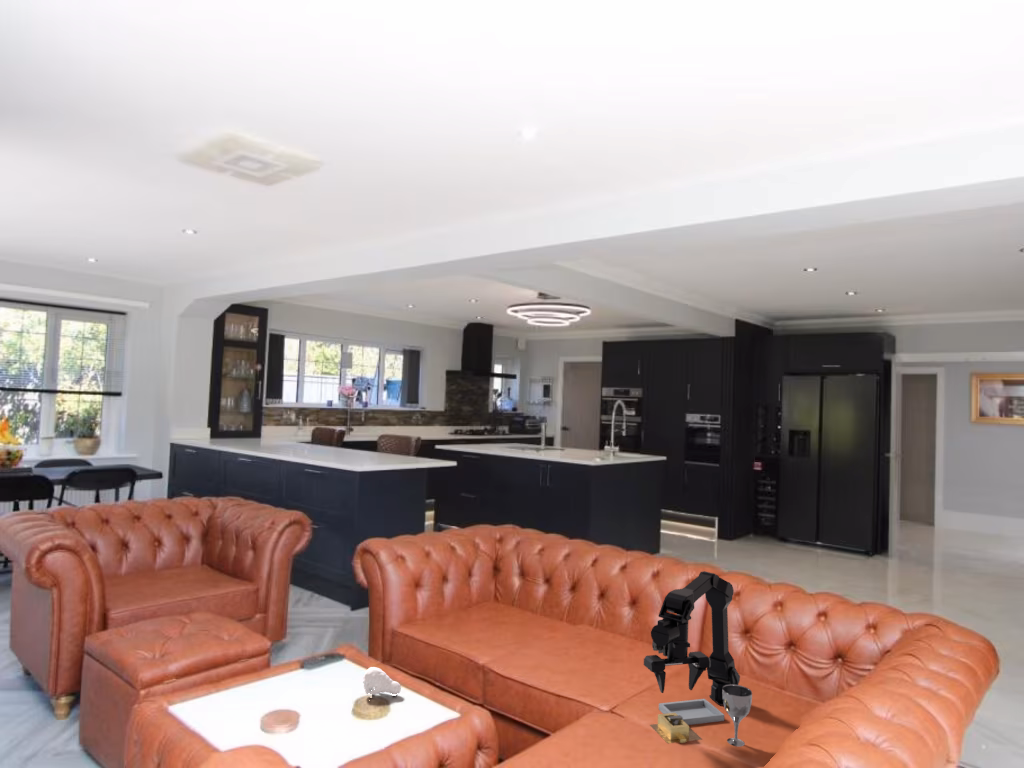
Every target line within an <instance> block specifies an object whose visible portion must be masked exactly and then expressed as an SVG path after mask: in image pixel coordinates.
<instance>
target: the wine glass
mask: <svg viewBox="0 0 1024 768" xmlns="http://www.w3.org/2000/svg"><path fill="white" fill-rule="evenodd" d="M722 694H723V704H724V705H723V708H724V710H725V711H726V713H727V714H728V716H729V717H730V719H731V720H732V722H733V727H734V737H731V738H728V739H726V743H728V744H729V745H731V746H733V747H736V748H737V747H738V748H739V747H744V746H745V744H746V743H745V742H744V741H743V740H742V739H740V738H738V735H739V734H738V732H739V731H738V730H739V726H740V723H741V721H742V720H743V719H745V718H746V717H747V716H748V715H749V713H750V711H751V708H752V701H753V692H752V690H751V689H750V688H748V687H746V686H743V685H742V684H741V685H739V684H738V685H734V684H730V685H725V686H724V687H723V692H722Z"/></svg>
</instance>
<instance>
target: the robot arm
mask: <svg viewBox="0 0 1024 768" xmlns="http://www.w3.org/2000/svg"><path fill="white" fill-rule="evenodd" d="M703 596H705V599H706V602H707V603H708V605H709V606H710V608H711V632H712V633H711V634H712V635H711V637H712V638H711V639H712V640H711V641H712V642H711V643H712V651H711V654H710V655H709V656H707V655H706V654H705V653H703V652H702V651H699V650H698V651H690V652H689V653H688V648H691V643H690V642H689V621H690V620H692V616H691V614H692V612H693V611H694V610H695V603H696V602H697V601H698V600H699V599H701V597H703ZM733 596H734V587H733V584H731V582H730V581H727V580H725V579H723V578H721V576H719V575H718V574H716V573H714V572H709V571H703V570H702V571H700V573H699V574H698V576H697V577H695V578H694V579H693V580H692V581H690V582H689V583H688V584H687V585H685V587H684V586H683V588H680V589H679V588H678V589H677V588H676V589H673V590H670V591H669V592H668V593H667V594H666V595H665V597H664V599H663V602H662V605H661V607H660V610H659V613H658V618H661V619H658V620H657V624H655V625H654V626H653V627H652V628H651V630H650V637H651V639H652V645H651V646H652V651H656V652H657V651H658V654H662V656H664V657H666V658H661V657H660V656H659V655H658V654H651V655H650V654H649V655H645V656H644V658H643V666H644V667H646V669H648V670H649V671H650V672H652V673H653V674H654V676H655V678H656V679H655V680H656V682H657V685H658V687H659V691H660V694H661V693H662V694H664V692H665V685H666V674H667V673H666V671H665V670H666V667H669V666H670V667H671V666H679V665H680V666H681V665H687V667H688V669H689V673H688V689H689V690H690V691H693V689H694V687H695V686H696V684H697V682H698V680H699V678H701V675H702V674H703V673H704V672H705V671H706V672H707V678H708V680H711V681H712V684H711V686H710V690H711V691H710V695H708V696H709V698H710V699H711V700H712V701H714V702H716V704H718V705H719V706H724V704H723V694H722V692H723V687H724V686H725V685H730V684H734V685H739V684H740V679H741V675H740V674H739V672H738V670H737V668H736V666H735V659H734V657H733V656H732V654H731V653H730V649H729V625H728V624H729V622H728V621H729V619H728V608H729V605H730V604H731V602H732V601H733Z"/></svg>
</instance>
